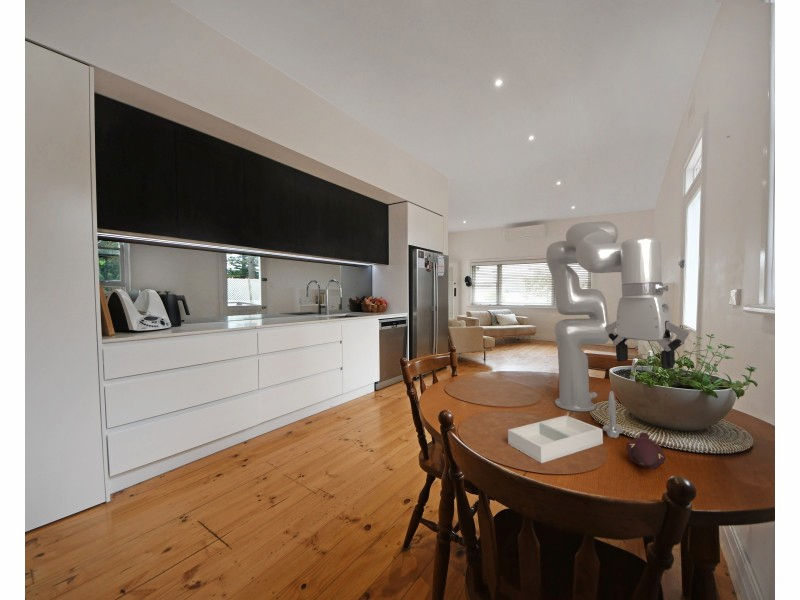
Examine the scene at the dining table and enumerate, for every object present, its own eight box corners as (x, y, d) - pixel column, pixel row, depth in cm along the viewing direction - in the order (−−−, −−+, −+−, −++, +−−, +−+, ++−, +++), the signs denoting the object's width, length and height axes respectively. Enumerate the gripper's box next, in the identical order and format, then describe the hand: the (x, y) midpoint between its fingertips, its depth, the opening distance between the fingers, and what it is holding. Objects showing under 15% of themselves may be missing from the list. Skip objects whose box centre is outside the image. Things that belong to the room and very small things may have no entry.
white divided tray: (566, 428, 99) (565, 415, 99) (602, 443, 88) (602, 429, 88) (508, 444, 90) (507, 429, 90) (541, 463, 79) (540, 447, 79)
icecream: (674, 457, 68) (664, 436, 80) (631, 441, 72) (628, 423, 84) (664, 488, 68) (656, 462, 81) (623, 470, 72) (621, 448, 85)
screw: (615, 432, 95) (627, 439, 90) (599, 432, 95) (610, 440, 90) (614, 388, 95) (625, 393, 90) (597, 388, 95) (608, 393, 90)
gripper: (696, 289, 69) (698, 369, 69) (614, 292, 85) (617, 357, 85) (675, 290, 66) (678, 374, 66) (595, 292, 82) (597, 360, 82)
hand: (643, 364), depth 76 cm, fingers open, 9 cm apart
